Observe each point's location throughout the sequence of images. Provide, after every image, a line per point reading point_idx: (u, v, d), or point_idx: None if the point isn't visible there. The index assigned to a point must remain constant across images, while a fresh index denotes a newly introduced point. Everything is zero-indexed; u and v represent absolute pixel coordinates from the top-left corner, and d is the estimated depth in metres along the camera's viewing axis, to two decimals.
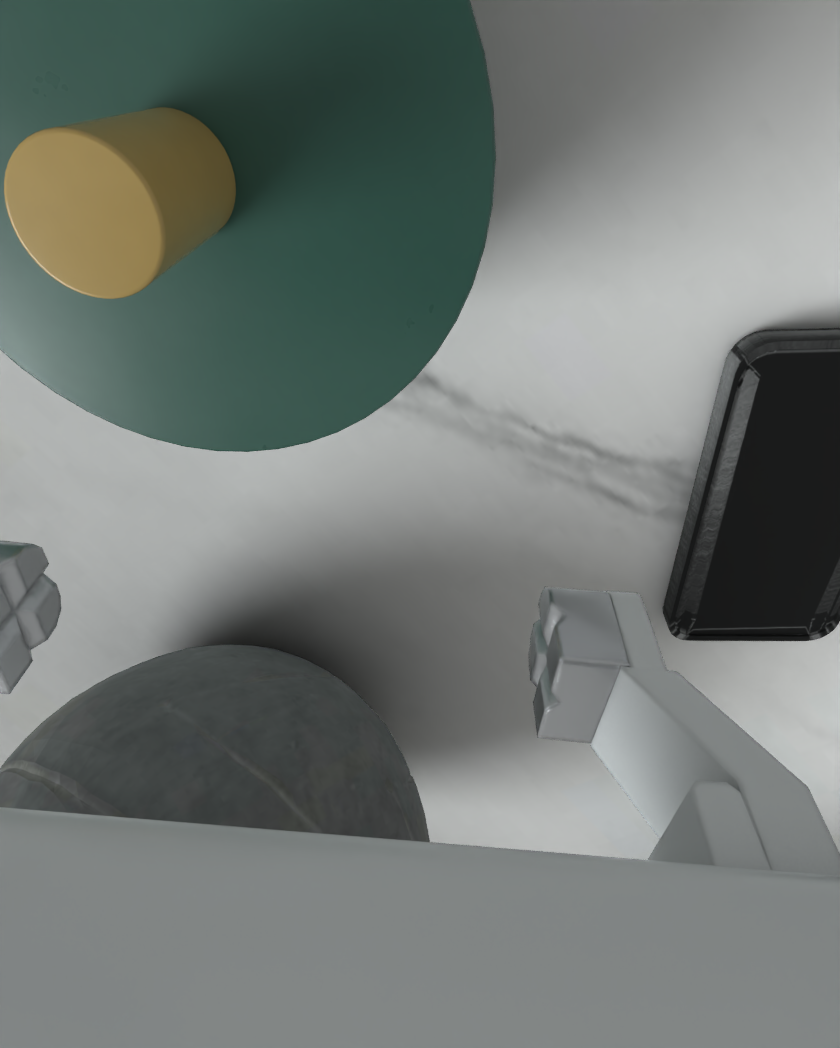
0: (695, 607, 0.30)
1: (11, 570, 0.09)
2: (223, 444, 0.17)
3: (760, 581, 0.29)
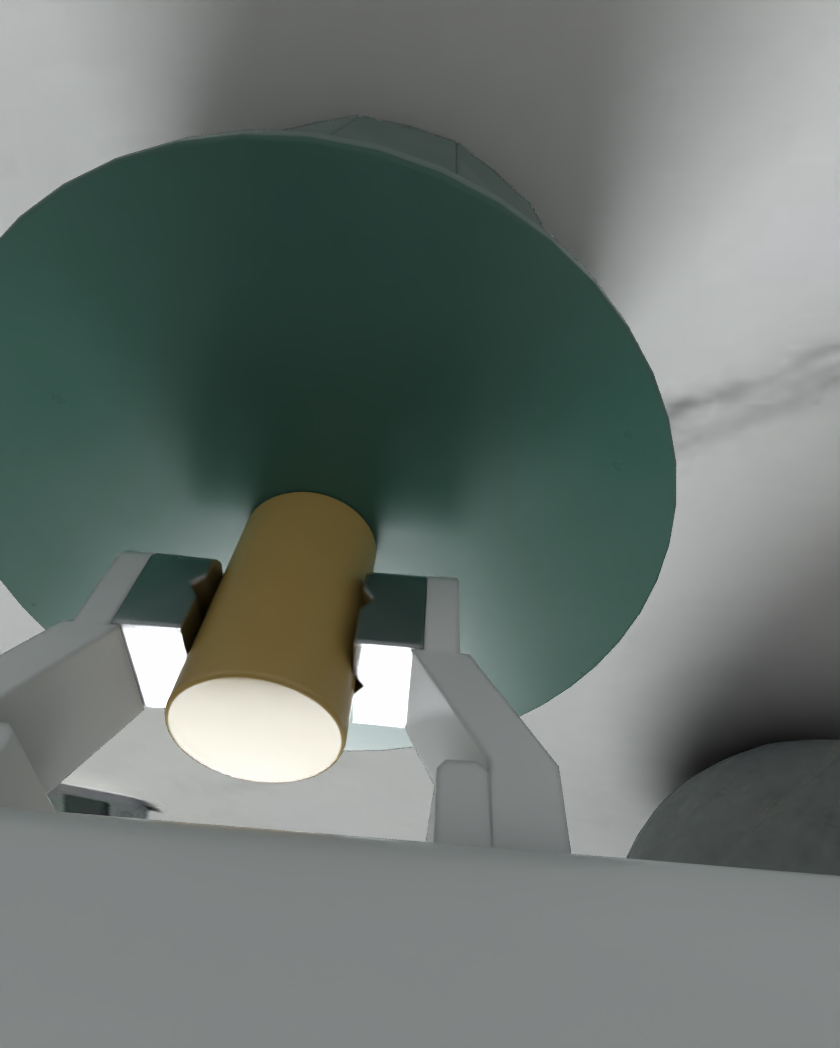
0: None
1: (203, 586, 0.10)
2: (543, 696, 0.14)
3: None
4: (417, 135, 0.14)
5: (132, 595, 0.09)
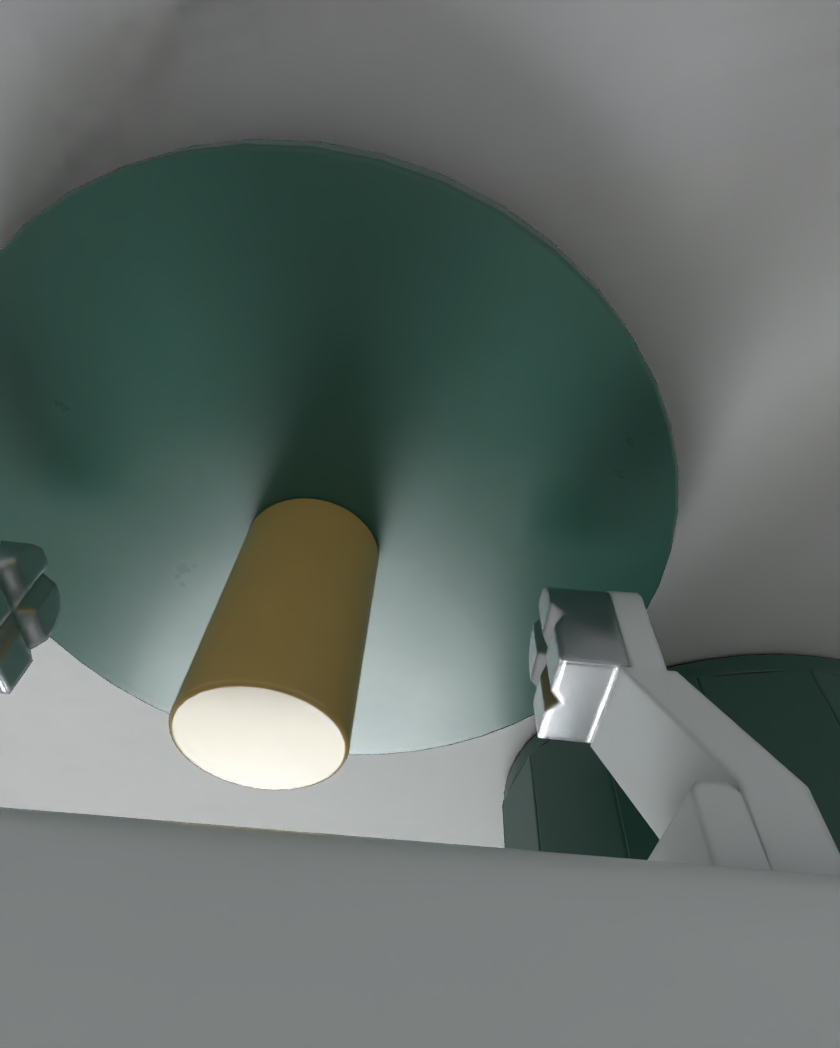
0: None
1: (11, 570, 0.09)
2: None
3: None
4: None
5: None
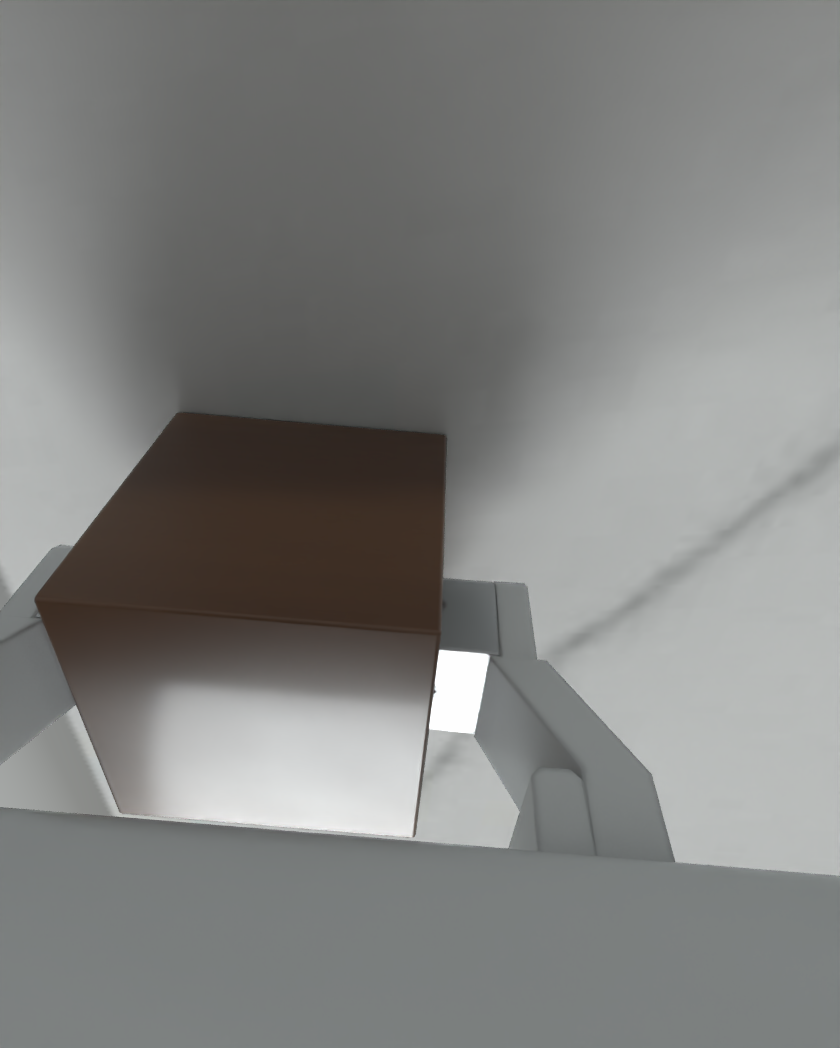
0: None
1: None
2: None
3: None
4: None
5: None
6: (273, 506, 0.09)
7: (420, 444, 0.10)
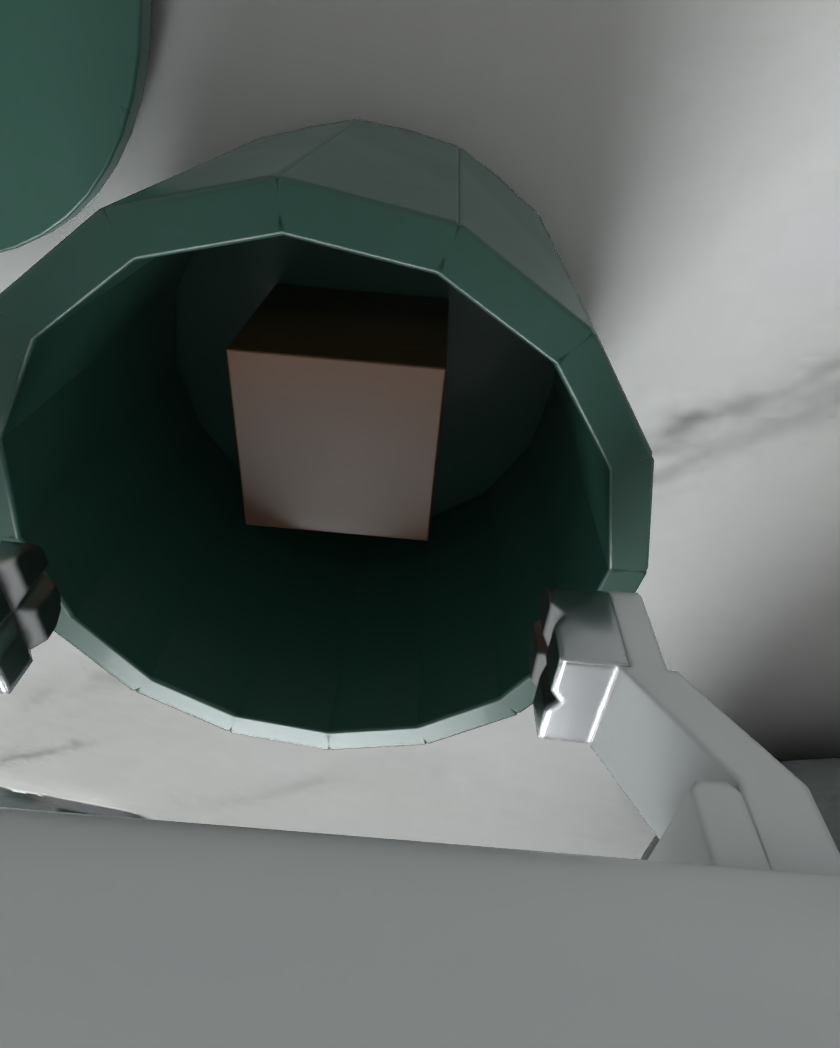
0: None
1: (11, 570, 0.09)
2: (102, 151, 0.14)
3: None
4: (418, 140, 0.14)
5: None
6: (346, 323, 0.15)
7: (432, 302, 0.16)
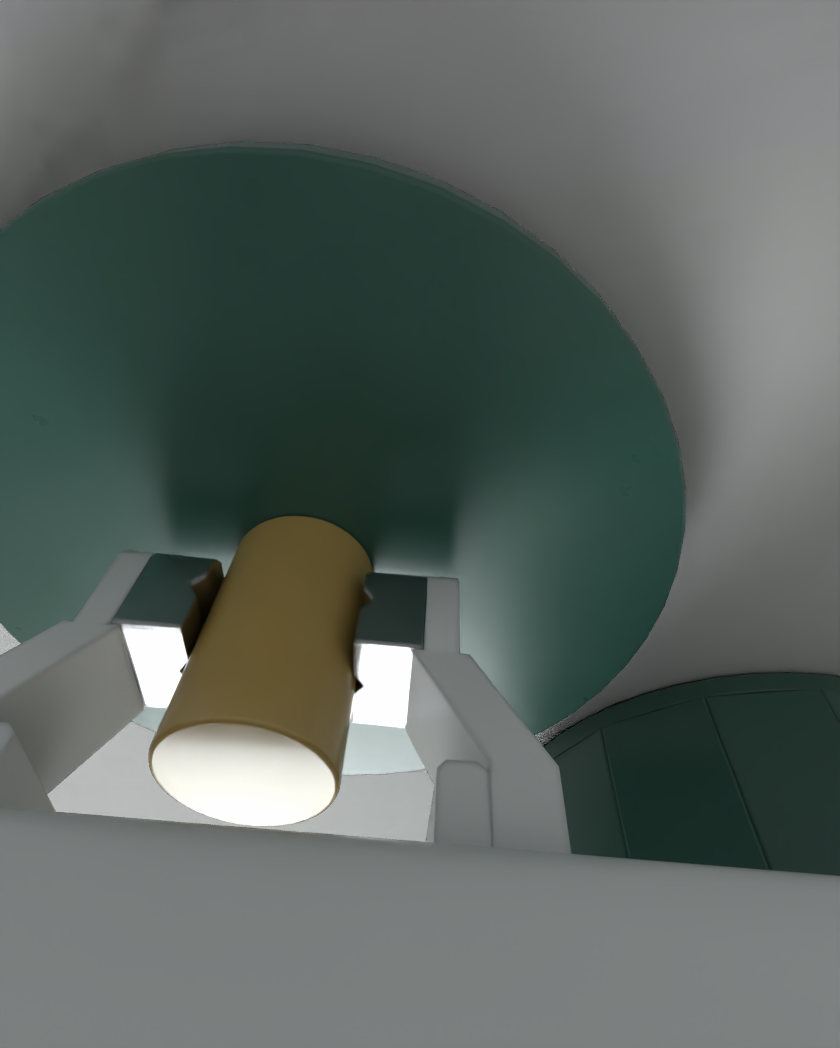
0: None
1: (203, 586, 0.10)
2: (545, 722, 0.13)
3: None
4: None
5: (132, 595, 0.09)
6: None
7: None
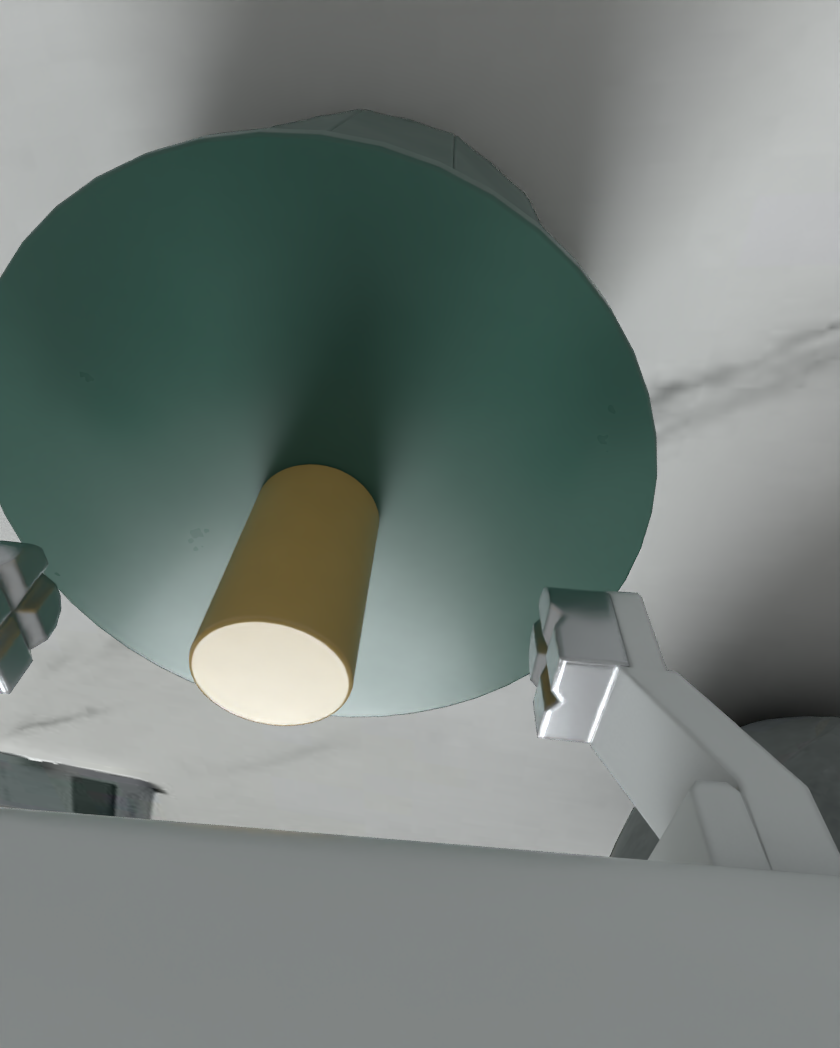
0: None
1: (11, 570, 0.09)
2: None
3: None
4: (417, 128, 0.15)
5: None
6: None
7: None
